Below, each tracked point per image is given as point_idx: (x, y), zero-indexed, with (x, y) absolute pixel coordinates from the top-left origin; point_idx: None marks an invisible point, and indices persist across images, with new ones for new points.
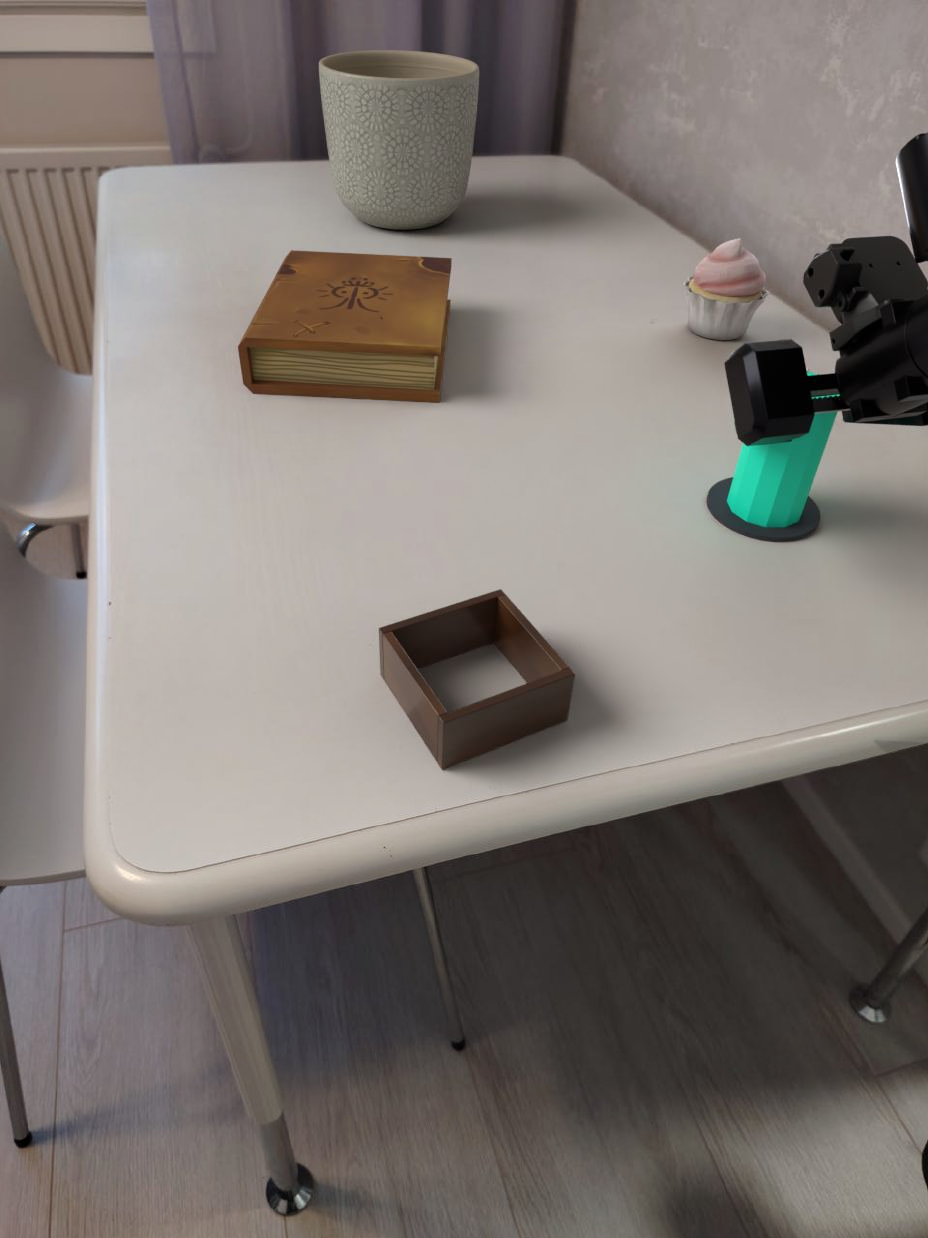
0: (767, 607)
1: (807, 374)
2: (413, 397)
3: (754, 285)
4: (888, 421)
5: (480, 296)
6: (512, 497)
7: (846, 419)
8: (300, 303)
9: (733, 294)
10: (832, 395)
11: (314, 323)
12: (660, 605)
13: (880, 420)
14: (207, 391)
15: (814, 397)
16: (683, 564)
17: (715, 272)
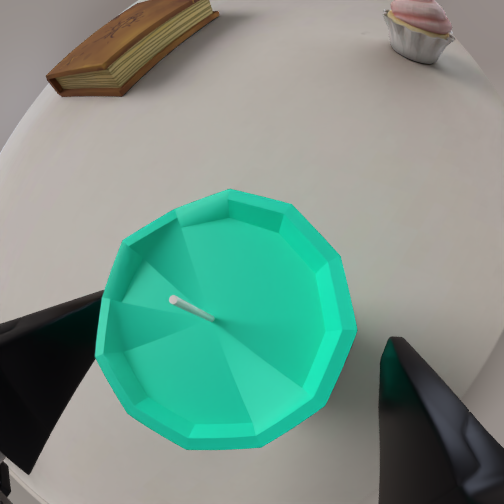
0: (146, 474)
1: (302, 237)
2: (109, 94)
3: (438, 26)
4: (380, 502)
5: (250, 7)
6: (66, 221)
7: (381, 366)
8: (91, 40)
9: (419, 26)
10: (308, 372)
11: (77, 55)
12: (70, 411)
13: (381, 479)
14: (53, 97)
15: (233, 363)
16: None
17: (402, 5)
